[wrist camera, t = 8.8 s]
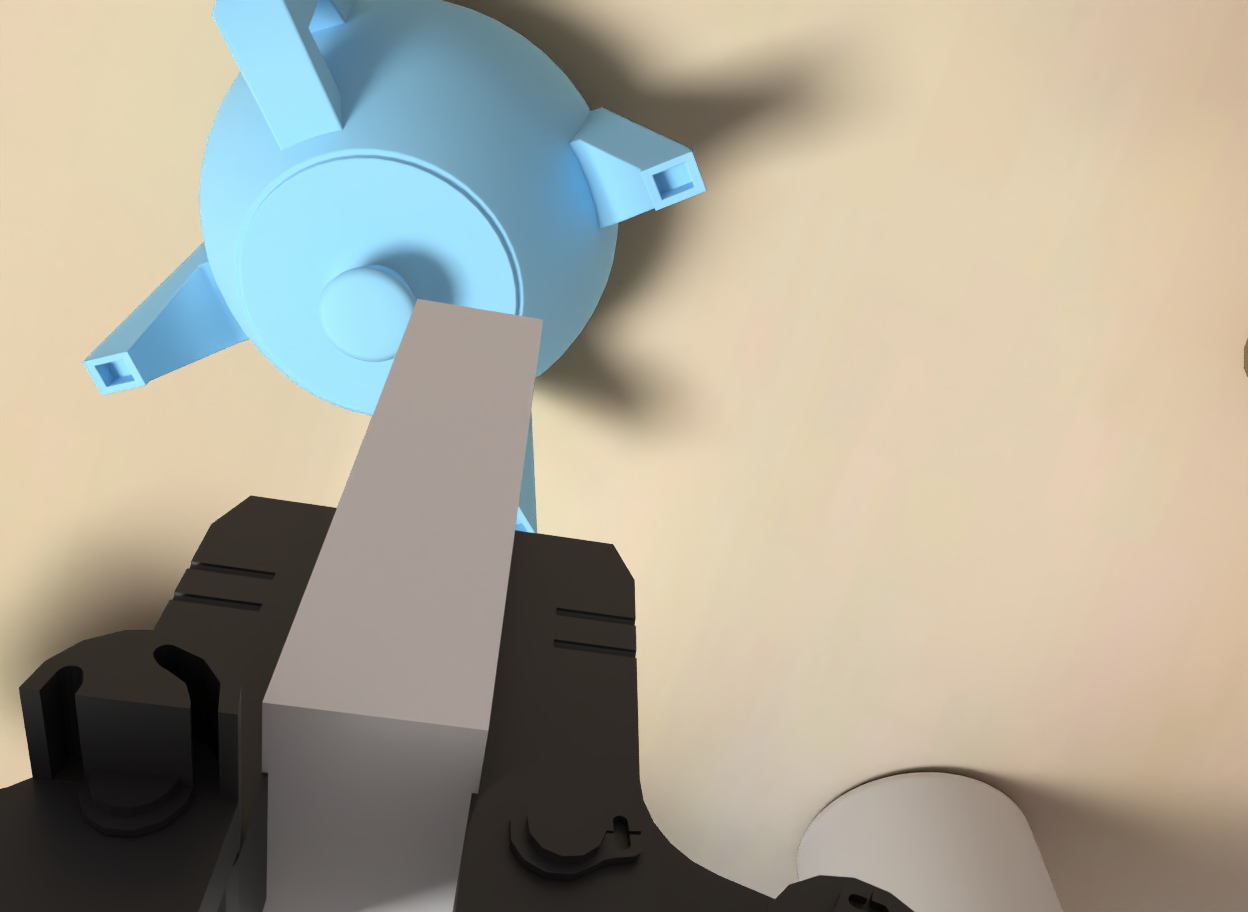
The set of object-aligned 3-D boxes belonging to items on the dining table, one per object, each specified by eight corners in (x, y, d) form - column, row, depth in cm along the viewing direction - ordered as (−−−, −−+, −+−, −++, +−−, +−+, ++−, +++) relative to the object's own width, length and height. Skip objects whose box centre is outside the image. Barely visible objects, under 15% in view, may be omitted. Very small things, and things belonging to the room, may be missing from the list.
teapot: (718, 99, 37) (751, 202, 28) (540, 433, 44) (520, 601, 35) (290, -124, 33) (167, -90, 24) (172, 279, 40) (42, 423, 31)
